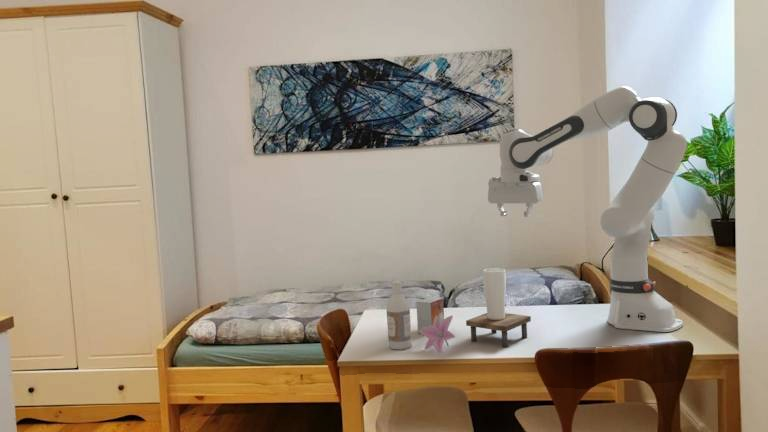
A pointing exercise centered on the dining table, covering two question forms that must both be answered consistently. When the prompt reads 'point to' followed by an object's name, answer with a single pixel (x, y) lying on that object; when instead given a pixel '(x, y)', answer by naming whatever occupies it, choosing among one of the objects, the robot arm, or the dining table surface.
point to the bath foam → (398, 319)
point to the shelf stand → (499, 325)
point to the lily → (437, 333)
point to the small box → (429, 311)
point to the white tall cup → (495, 292)
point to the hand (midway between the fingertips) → (515, 216)
